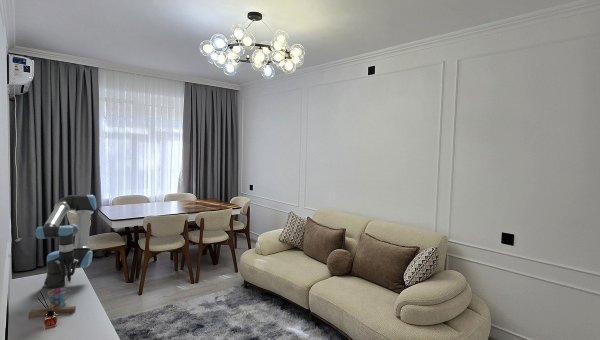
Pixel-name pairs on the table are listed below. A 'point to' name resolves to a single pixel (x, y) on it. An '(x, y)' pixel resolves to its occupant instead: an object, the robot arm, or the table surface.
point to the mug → (57, 297)
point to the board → (57, 310)
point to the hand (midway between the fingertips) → (67, 285)
